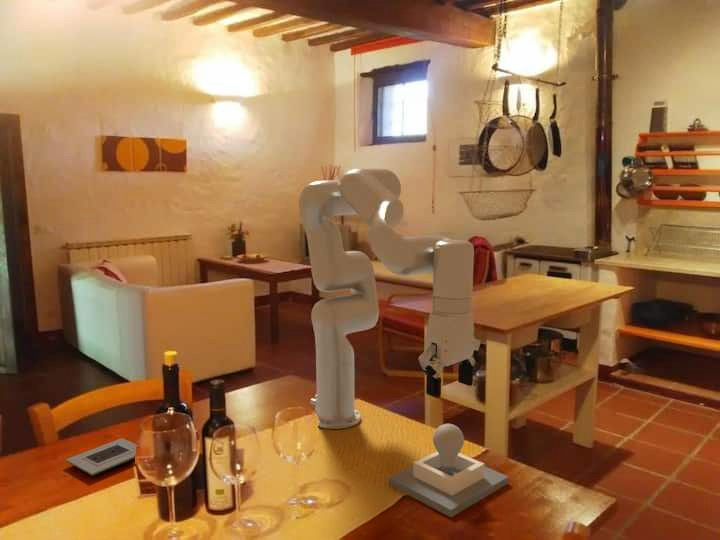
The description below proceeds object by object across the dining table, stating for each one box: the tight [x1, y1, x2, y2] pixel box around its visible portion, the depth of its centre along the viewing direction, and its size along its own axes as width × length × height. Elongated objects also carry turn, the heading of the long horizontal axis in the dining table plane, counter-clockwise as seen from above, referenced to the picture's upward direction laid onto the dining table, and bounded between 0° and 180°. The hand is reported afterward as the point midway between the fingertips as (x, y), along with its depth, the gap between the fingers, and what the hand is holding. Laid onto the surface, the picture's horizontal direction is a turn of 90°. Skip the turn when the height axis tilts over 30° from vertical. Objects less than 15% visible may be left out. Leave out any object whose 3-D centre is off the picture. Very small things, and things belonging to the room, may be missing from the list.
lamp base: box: [388, 450, 509, 518], centre depth 121 cm, size 16×18×4 cm
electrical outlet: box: [65, 438, 137, 477], centre depth 131 cm, size 13×10×2 cm
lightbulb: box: [432, 423, 465, 476], centre depth 120 cm, size 6×6×11 cm
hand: (449, 389), depth 118 cm, fingers open, 9 cm apart
